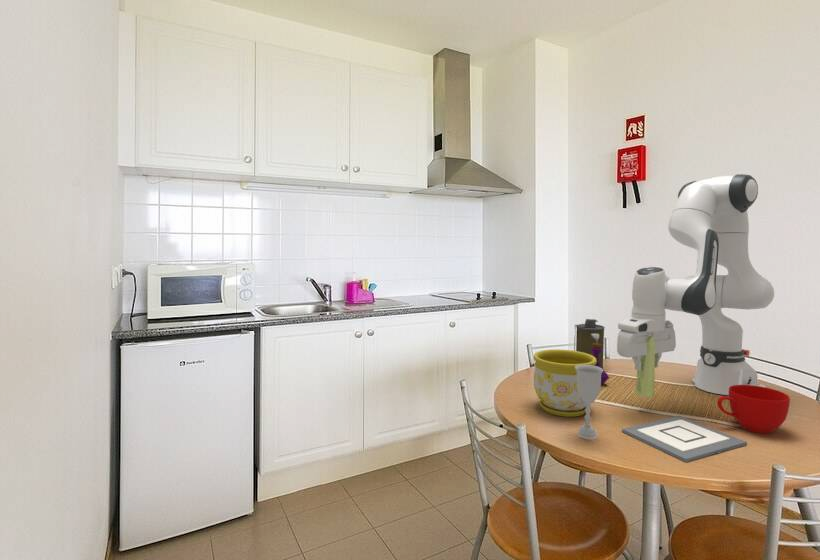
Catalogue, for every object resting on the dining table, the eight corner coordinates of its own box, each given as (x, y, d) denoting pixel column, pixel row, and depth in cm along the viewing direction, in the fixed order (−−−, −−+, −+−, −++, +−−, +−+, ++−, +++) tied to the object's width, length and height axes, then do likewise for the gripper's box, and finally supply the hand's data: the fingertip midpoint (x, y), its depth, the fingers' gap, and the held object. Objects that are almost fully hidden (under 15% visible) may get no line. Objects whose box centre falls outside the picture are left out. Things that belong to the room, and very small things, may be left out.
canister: (600, 366, 180) (602, 317, 178) (605, 373, 170) (607, 322, 168) (572, 365, 182) (573, 317, 181) (575, 372, 172) (577, 321, 171)
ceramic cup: (702, 418, 127) (703, 384, 126) (762, 418, 126) (764, 384, 125) (733, 438, 114) (735, 401, 113) (801, 439, 113) (803, 401, 112)
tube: (659, 396, 131) (662, 331, 130) (650, 399, 129) (653, 333, 127) (640, 391, 136) (643, 328, 135) (631, 394, 133) (634, 330, 132)
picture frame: (679, 418, 127) (679, 414, 127) (746, 444, 110) (746, 440, 110) (621, 431, 119) (621, 427, 119) (685, 462, 102) (685, 457, 102)
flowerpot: (571, 396, 146) (573, 347, 145) (608, 417, 129) (610, 361, 127) (522, 401, 142) (522, 351, 140) (553, 424, 124) (554, 366, 123)
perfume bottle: (609, 386, 155) (610, 336, 154) (587, 386, 155) (588, 336, 154) (600, 379, 163) (601, 331, 161) (579, 380, 163) (580, 331, 161)
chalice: (568, 430, 120) (570, 365, 119) (592, 428, 121) (594, 364, 119) (581, 442, 113) (583, 373, 111) (606, 440, 113) (608, 372, 112)
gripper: (663, 318, 137) (661, 361, 139) (613, 323, 130) (612, 369, 131) (682, 321, 132) (680, 367, 133) (631, 327, 124) (630, 375, 125)
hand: (646, 368), depth 132 cm, fingers closed on tube, 5 cm apart
